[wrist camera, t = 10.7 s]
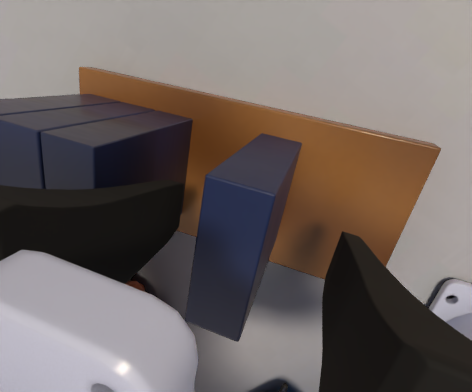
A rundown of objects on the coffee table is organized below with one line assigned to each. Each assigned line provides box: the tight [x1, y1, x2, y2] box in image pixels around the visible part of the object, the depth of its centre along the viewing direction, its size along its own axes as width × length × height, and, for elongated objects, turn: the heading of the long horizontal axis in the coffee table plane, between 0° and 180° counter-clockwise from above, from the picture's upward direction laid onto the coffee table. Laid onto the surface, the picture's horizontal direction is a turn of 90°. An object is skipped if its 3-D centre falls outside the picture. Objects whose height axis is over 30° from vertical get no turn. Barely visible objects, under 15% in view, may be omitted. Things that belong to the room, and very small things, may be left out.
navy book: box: [185, 133, 302, 342], centre depth 12 cm, size 6×2×7 cm, turn 170°
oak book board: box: [0, 67, 441, 279], centre depth 13 cm, size 8×18×9 cm, turn 79°
